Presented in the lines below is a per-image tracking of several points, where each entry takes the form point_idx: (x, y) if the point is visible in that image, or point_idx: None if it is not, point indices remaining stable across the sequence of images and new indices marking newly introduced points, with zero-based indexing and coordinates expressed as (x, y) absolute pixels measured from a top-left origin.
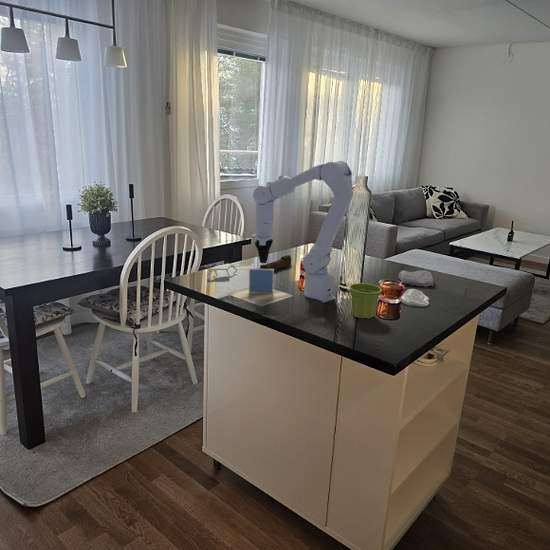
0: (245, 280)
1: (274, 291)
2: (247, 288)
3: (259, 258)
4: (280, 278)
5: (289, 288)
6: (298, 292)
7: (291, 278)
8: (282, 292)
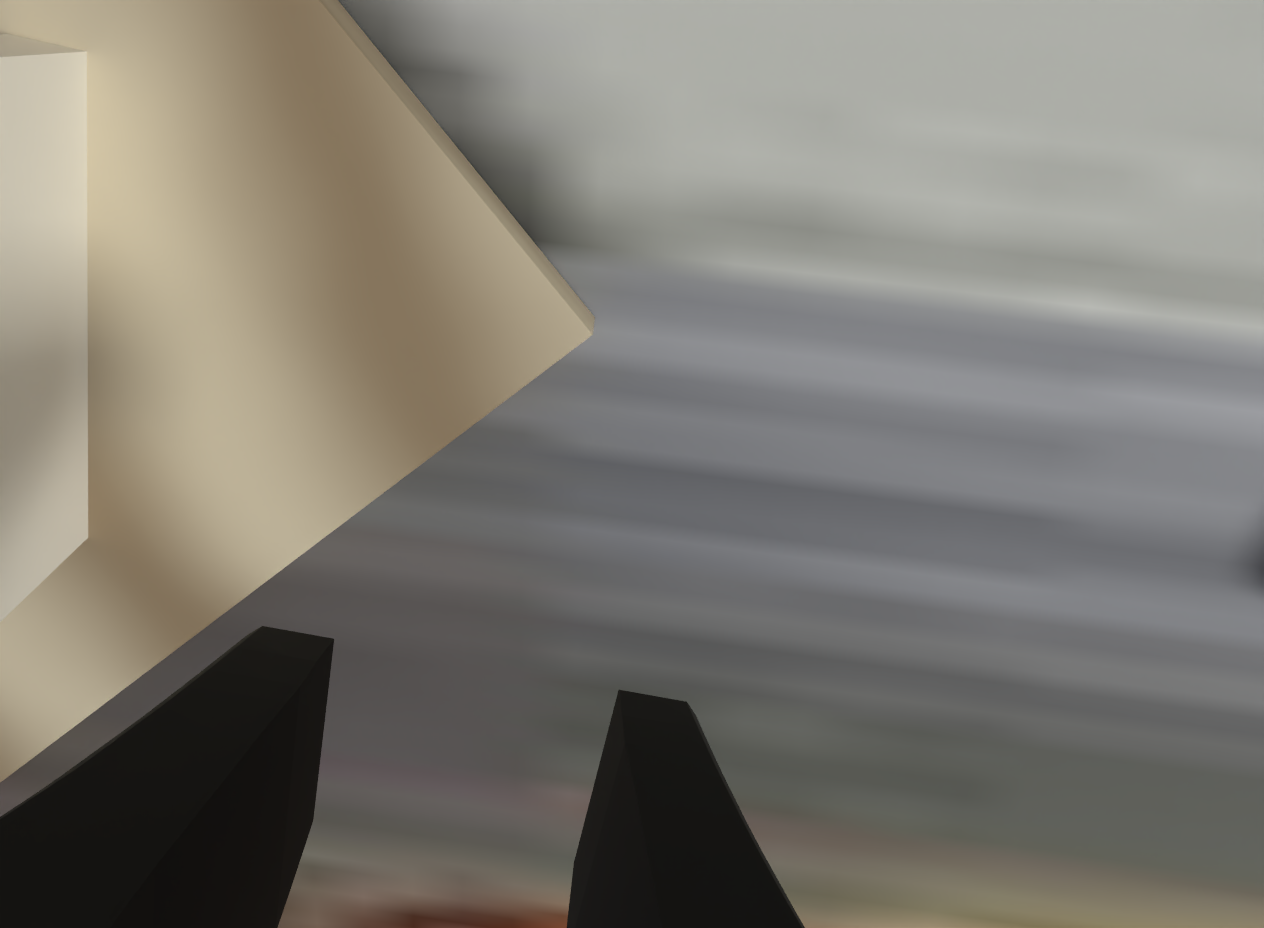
0: (1145, 74)
1: (146, 564)
2: (294, 32)
3: (148, 716)
4: (1097, 757)
5: (513, 799)
6: (311, 878)
7: (1052, 903)
8: (104, 681)
